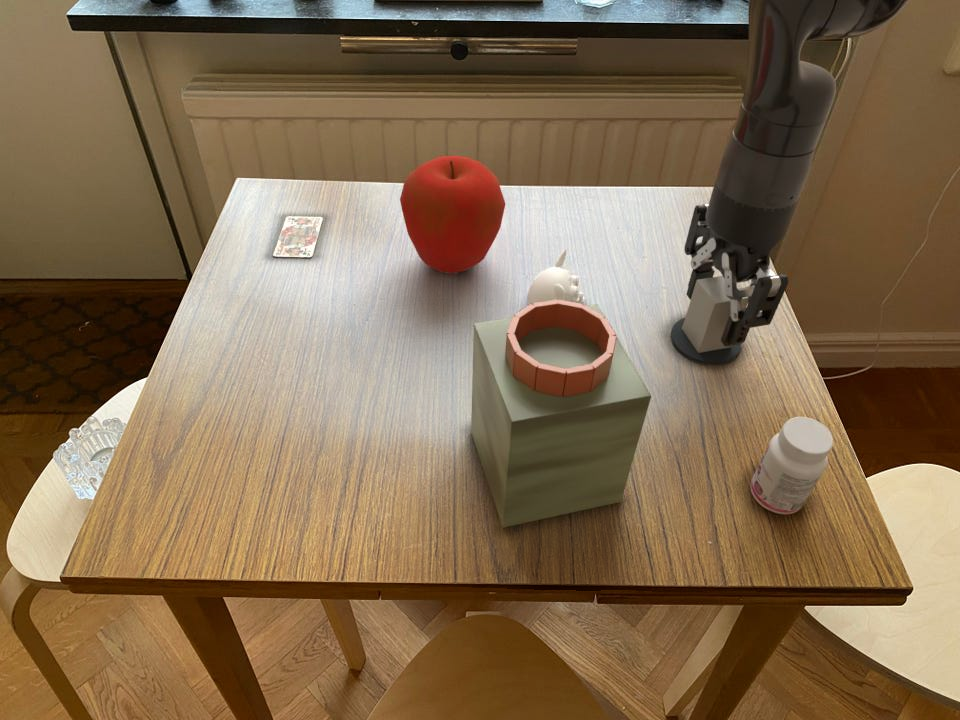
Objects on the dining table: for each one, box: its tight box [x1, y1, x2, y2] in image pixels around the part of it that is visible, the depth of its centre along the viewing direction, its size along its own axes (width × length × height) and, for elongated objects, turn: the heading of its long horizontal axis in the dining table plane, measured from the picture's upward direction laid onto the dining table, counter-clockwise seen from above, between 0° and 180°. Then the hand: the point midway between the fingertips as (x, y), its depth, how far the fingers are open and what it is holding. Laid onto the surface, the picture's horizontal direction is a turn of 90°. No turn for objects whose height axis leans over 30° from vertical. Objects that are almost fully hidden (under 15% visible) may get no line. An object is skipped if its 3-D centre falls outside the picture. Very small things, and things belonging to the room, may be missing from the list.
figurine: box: [526, 249, 586, 307], centre depth 79 cm, size 8×6×7 cm
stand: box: [470, 303, 652, 528], centre depth 61 cm, size 11×11×14 cm
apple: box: [399, 155, 506, 274], centre depth 82 cm, size 12×12×14 cm
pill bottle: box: [750, 416, 834, 515], centre depth 61 cm, size 5×5×8 cm
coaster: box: [670, 317, 742, 366], centre depth 78 cm, size 8×8×1 cm
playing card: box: [272, 215, 324, 258], centre depth 90 cm, size 9×5×1 cm, turn 0°
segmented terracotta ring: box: [505, 300, 618, 397], centre depth 55 cm, size 8×8×2 cm
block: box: [682, 275, 748, 353], centre depth 76 cm, size 4×4×7 cm
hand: (712, 319), depth 76 cm, fingers open, 7 cm apart
